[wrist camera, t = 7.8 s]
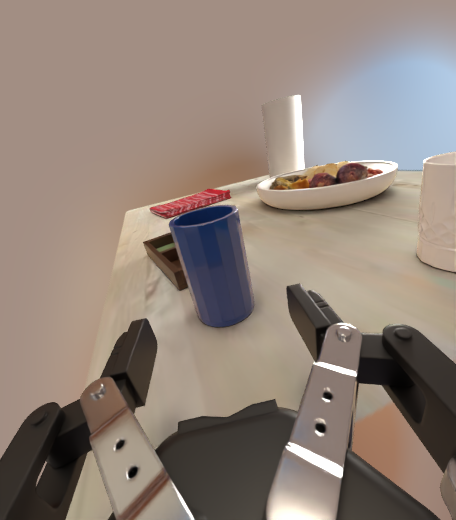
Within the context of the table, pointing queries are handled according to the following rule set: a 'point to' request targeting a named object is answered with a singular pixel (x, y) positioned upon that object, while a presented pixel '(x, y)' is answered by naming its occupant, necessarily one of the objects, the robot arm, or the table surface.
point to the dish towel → (190, 203)
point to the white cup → (438, 212)
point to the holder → (167, 258)
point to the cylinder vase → (283, 135)
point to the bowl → (327, 185)
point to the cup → (214, 263)
